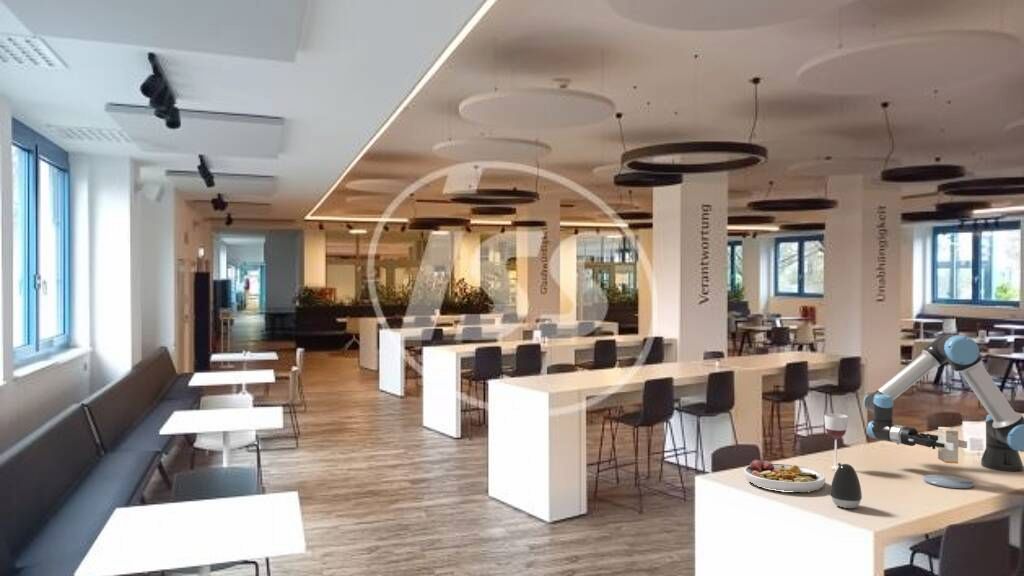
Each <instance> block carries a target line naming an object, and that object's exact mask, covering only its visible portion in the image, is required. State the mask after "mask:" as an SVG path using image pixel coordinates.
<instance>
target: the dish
mask: <svg viewBox="0 0 1024 576" xmlns="http://www.w3.org/2000/svg"><path fill="white" fill-rule="evenodd" d="M923 480H924V482H925V483H928V484H931V485H934V486H938V487H943V488H944V487H945V488H950V489H951V488H952V489H971V488H973V487H974V486H975V484H974V482H973V480H971V479H967V478H964V477H960V476H955V475H950V474H927V475H924V476H923Z"/></svg>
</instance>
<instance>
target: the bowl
mask: <svg viewBox="0 0 1024 576" xmlns="http://www.w3.org/2000/svg"><path fill="white" fill-rule="evenodd" d="M743 473H744V477H745V479H746V481H748V483H750V482H751V483H753V484H755V485H758V486H761V487H765V488H770V489H776V490H784V491H793V492H808V491H813V492H816V491H818V490H820V489H821V488H822V487H823V486H824V485H825V483H826V476H825V474H824V473H822V472H820V471H818V470H816V469H813V468H809V467H805V466H799V465H797V464H786V463H772V462H771V461H769V460H763V461H761V460H760V459H754V460H752V461H750V463H749V465H747V466H745V468H744V469H743ZM751 483H750V484H751ZM753 484H752V485H753ZM815 490H816V491H815ZM808 493H809V492H808Z"/></svg>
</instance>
